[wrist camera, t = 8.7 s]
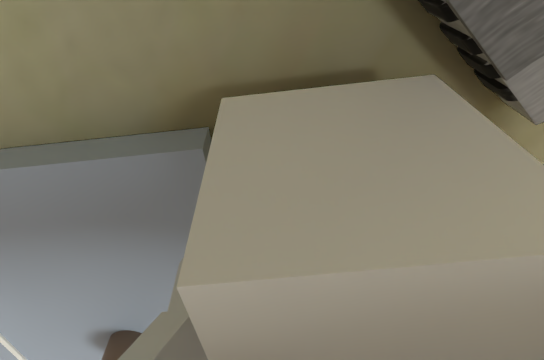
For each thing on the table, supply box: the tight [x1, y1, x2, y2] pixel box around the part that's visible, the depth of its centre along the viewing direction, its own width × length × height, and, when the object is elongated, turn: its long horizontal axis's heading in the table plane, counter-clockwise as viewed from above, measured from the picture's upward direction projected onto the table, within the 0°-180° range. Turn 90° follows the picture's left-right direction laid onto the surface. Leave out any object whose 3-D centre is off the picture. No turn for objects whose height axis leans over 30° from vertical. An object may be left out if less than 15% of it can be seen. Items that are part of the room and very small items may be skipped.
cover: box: [177, 75, 544, 360], centre depth 9 cm, size 6×8×6 cm
